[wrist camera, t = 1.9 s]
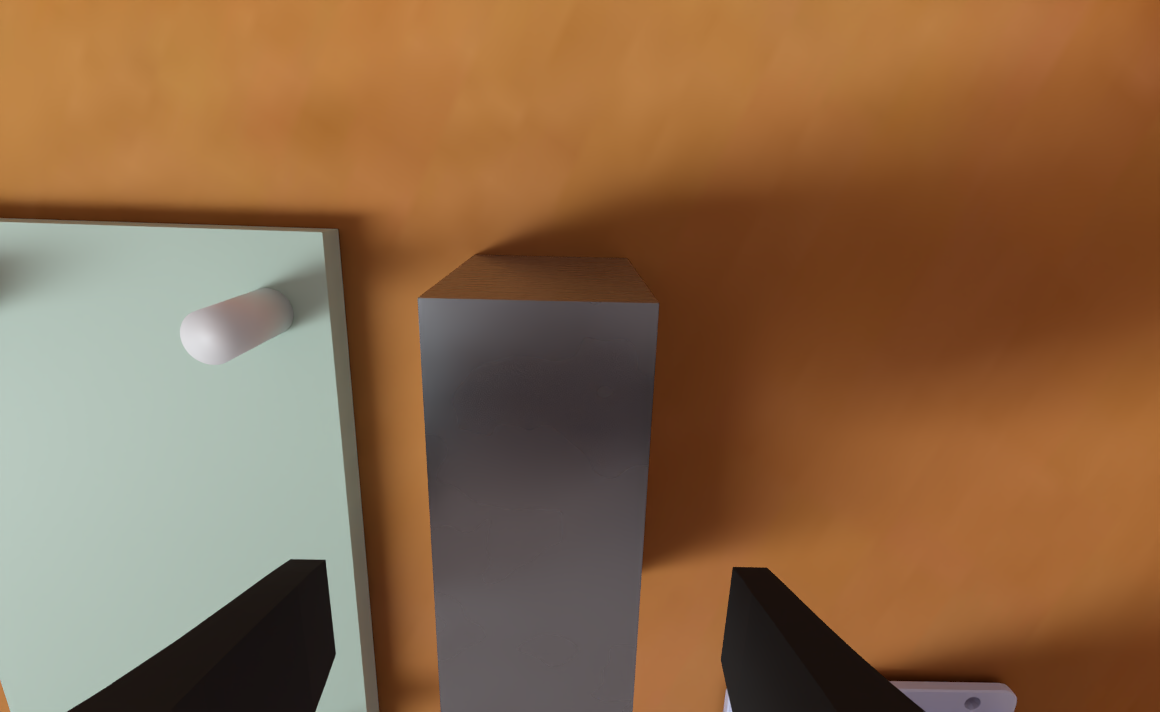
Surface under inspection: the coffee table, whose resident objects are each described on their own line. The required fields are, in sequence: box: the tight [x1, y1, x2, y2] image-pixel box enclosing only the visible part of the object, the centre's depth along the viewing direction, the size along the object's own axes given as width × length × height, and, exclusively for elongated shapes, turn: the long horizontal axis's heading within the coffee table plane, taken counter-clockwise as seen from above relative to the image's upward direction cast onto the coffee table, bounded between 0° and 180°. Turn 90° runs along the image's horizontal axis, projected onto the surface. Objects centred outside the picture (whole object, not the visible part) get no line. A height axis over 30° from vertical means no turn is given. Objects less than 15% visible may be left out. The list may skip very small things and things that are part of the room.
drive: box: [418, 255, 659, 712], centre depth 14 cm, size 4×10×6 cm, turn 179°
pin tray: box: [0, 218, 379, 712], centre depth 16 cm, size 11×18×4 cm, turn 178°
